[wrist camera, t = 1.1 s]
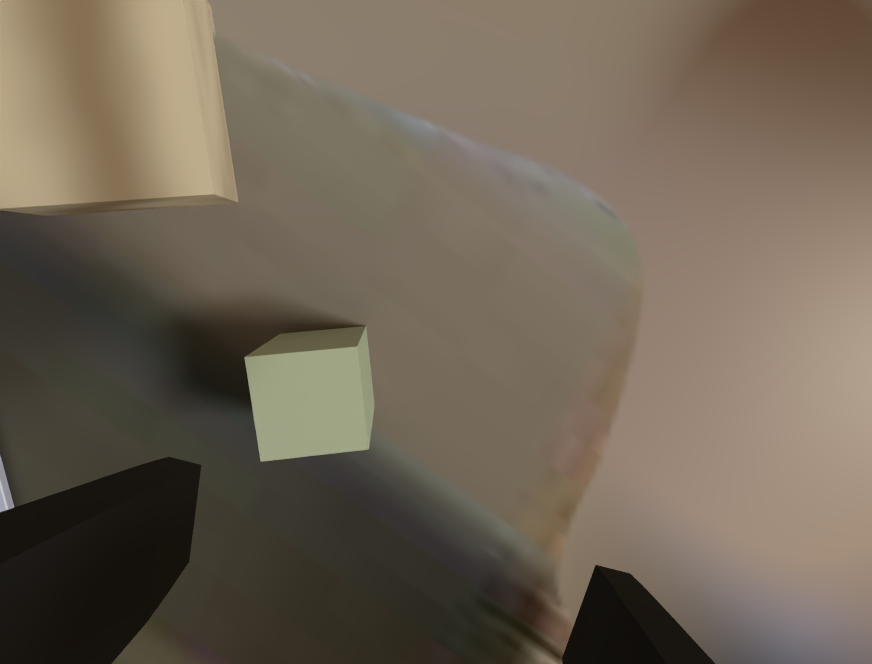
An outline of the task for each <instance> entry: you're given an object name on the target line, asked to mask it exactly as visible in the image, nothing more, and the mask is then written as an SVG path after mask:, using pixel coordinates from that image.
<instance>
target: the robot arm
mask: <svg viewBox="0 0 872 664" xmlns="http://www.w3.org/2000/svg"><path fill="white" fill-rule="evenodd" d="M200 470H201V465H199V464H195V463H191V462H187V461H183V460H179V459H175V458H171V457H167V458H163V459H159V460H155V461H152V462H149V463H145V464H142V465H139V466H136V467H133V468H130V469H127V470H124V471H121V472H118V473H115V474H112V475H109V476H106V477H103V478H100V479H97V480H95V481H92V482H89V483H86V484H83V485H80V486H77V487H74V488H71V489H68V490H65V491H62V492H59V493H56V494H53V495H50V496H47V497H44V498H41V499H38V500H36V501H33V502H30V503H27V504H24V505H21V506H18V507H15V508H14V504H13V501H12V497H11V493H10V489H9V486H8V482H7V478H6V474H5V471H4V467H3V463H2V459H1V456H0V664H111V663H112V662H113V661H114V660H115V659H116V658H117V656H118V655H119V654H120V653H121V652H122V651H123V649H124V648H125V647H126V646H127V645H128V644H129V642H130V641H131V640H132V639H133V638H134V637H135V635H136V634H137V633H138V632H139V631H140V629H141V628H142V627H143V626H144V625H145V623H146V622H147V621H148V620H149V619H150V617H151V616H152V614H153V613H154V612H155V610H156V609H157V607H158V606H159V605H160V603H161V602H162V600H163V599H164V598H165V596H166V595H167V593H168V592H169V591H170V589H171V588H172V586H173V585H174V583H175V582H176V580H177V579H178V577H179V576H180V574H181V573H182V571H183V570H184V568H185V567H186V565H187V564H188V563H189V558H190V550H191V542H192V534H193V526H194V518H195V510H196V502H197V494H198V486H199V478H200ZM562 662H563V664H715V663H714V662H713V661H712V660H711V659H710V657H708V656H707V654H706V653H705V652H704V651H703V650H702V649H701V648H700V647H699V646H698V644H697V643H696V642H695V641H694V640H693V639H692V638H691V637H690V636H689V635H688V634H687V633H686V631H685V630H684V629H683V628H682V627H681V626H680V625H679V624H678V623H677V622H676V621H675V619H674V618H673V617H672V616H671V615H670V614H669V613H668V612H667V611H666V610H665V609H664V608H663V607H662V606H661V605H660V603H659V602H658V601H657V600H656V599H655V598H654V597H653V596H652V595H651V594H650V593H649V592H648V591H647V590H646V589H645V588H644V587H643V586H642V585H641V584H640V583H639V582H638V581H637V580H636V579H635V578H634V577H633V576H632V575H631V574H629V573H625V572H622V571H618V570H614V569H609V568H606V567H602V566H598V565H596V566H595V568H594V571H593V574H592V577H591V579H590V582H589V585H588V588H587V591H586V593H585V596H584V599H583V602H582V605H581V607H580V610H579V613H578V616H577V618H576V621H575V624H574V627H573V630H572V632H571V635H570V638H569V641H568V644H567V646H566V649H565V652H564V655H563V657H562Z"/></svg>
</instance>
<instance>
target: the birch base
mask: <svg viewBox="0 0 872 664" xmlns="http://www.w3.org/2000/svg"><path fill="white" fill-rule="evenodd" d="M213 34H214V35H216V34H215V28H214V21H213V15H212V8H211V6H210V4H209V3H208V1H207V0H0V210H2V211H10V212H18V213H27V214H35V215H43V216H52V215H66V214H81V213H95V212H110V211H124V210H139V209H153V208H168V207H182V206H197V205H211V204H226V203H238V197H237V191H236V184H235V178H234V171H233V164H232V158H231V151H230V145H229V138H228V132H227V125H226V119H225V112H224V105H223V99H222V92H221V86H220V79H219V73H218V66H217V60H216V53H215V46H214V40H213Z"/></svg>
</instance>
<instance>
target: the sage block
mask: <svg viewBox="0 0 872 664" xmlns="http://www.w3.org/2000/svg"><path fill="white" fill-rule="evenodd" d="M244 358H245V364H246V371H247V377H248V383H249V390H250V396H251V402H252V409H253V415H254V421H255V428H256V434H257V440H258V447H259V453H260V459H261V461H270V460H279V459H288V458H297V457H305V456H314V455H323V454H332V453H341V452H350V451H359V450H367V449H369V443H370V436H371V429H372V421H373V414H374V396H373V387H372V378H371V368H370V359H369V350H368V340H367V331H366V326H360V327H349V328H338V329H327V330H316V331H304V332H293V333H282V334H279V335H277V336H276V337H274V338H273V339H271V340H270V341H268V342H267V343H265V344H264V345H262V346H261V347H259V348H258V349H256V350H255V351H253V352H252V353H250V354H248V355H247V356H245V357H244Z"/></svg>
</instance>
